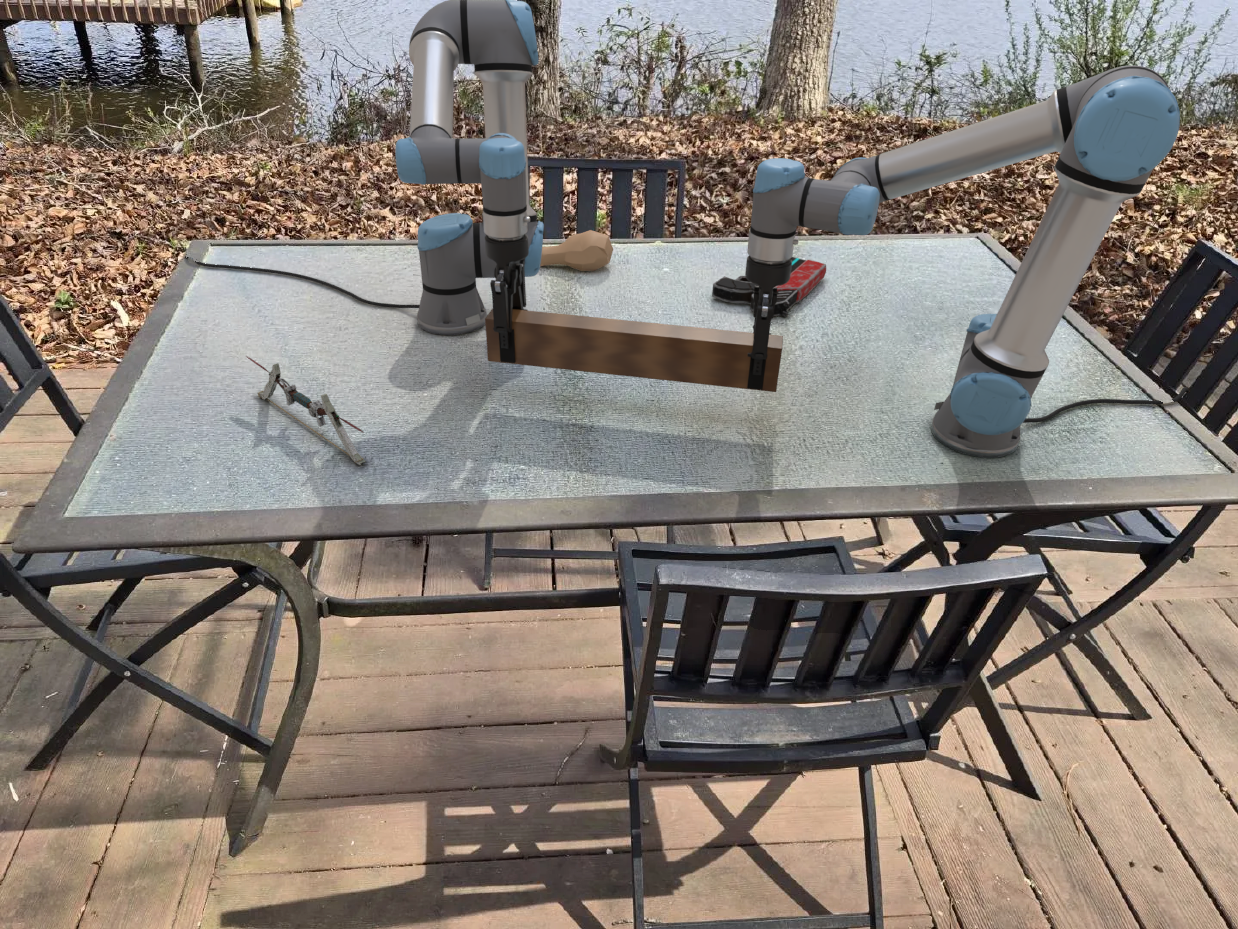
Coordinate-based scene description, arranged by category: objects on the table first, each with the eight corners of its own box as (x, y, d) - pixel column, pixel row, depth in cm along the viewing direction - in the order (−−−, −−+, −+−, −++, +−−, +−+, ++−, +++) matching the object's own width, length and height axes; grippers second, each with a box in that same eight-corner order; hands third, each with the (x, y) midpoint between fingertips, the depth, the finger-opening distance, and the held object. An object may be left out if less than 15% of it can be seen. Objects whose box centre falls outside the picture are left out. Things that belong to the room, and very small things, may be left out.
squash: (614, 275, 223) (610, 243, 217) (537, 282, 224) (531, 251, 218) (615, 253, 231) (611, 222, 224) (540, 260, 232) (534, 229, 226)
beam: (487, 361, 164) (484, 318, 159) (495, 348, 168) (493, 306, 163) (776, 392, 156) (782, 348, 152) (776, 378, 161) (783, 335, 156)
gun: (708, 284, 207) (784, 305, 199) (760, 245, 229) (831, 262, 221) (706, 302, 209) (781, 323, 201) (758, 261, 231) (828, 278, 223)
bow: (375, 468, 148) (367, 417, 142) (366, 472, 146) (358, 421, 141) (259, 389, 169) (248, 342, 163) (250, 392, 168) (239, 345, 162)
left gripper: (512, 254, 144) (518, 379, 157) (540, 218, 159) (544, 335, 172) (468, 250, 145) (478, 374, 158) (500, 215, 160) (507, 331, 173)
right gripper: (793, 278, 138) (775, 407, 151) (792, 239, 153) (776, 359, 166) (745, 275, 139) (732, 403, 152) (748, 236, 154) (736, 356, 167)
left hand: (512, 354), depth 165 cm, fingers closed on beam, 5 cm apart
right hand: (755, 380), depth 159 cm, fingers closed on beam, 5 cm apart
